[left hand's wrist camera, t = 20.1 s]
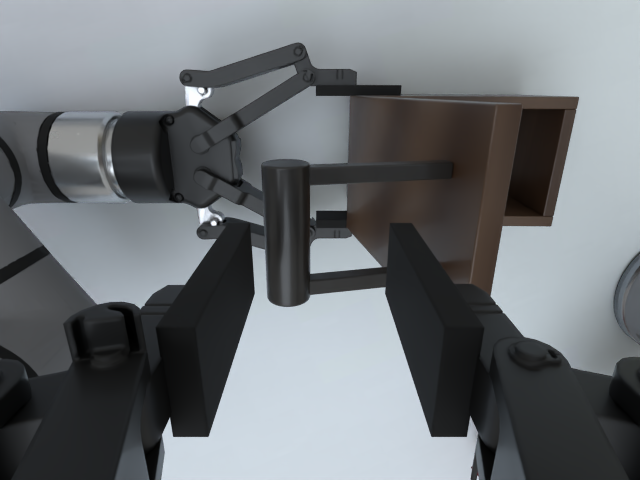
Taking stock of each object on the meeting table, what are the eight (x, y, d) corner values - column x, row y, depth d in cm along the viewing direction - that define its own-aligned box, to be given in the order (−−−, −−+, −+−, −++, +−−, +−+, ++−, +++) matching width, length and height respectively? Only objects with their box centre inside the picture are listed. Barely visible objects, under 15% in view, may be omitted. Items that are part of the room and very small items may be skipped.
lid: (524, 104, 14) (265, 104, 12) (481, 349, 17) (276, 380, 16) (364, 95, 29) (240, 95, 28) (359, 226, 33) (248, 234, 31)
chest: (523, 95, 38) (579, 96, 30) (505, 198, 42) (551, 226, 33) (350, 94, 38) (356, 95, 30) (347, 197, 42) (352, 224, 33)
